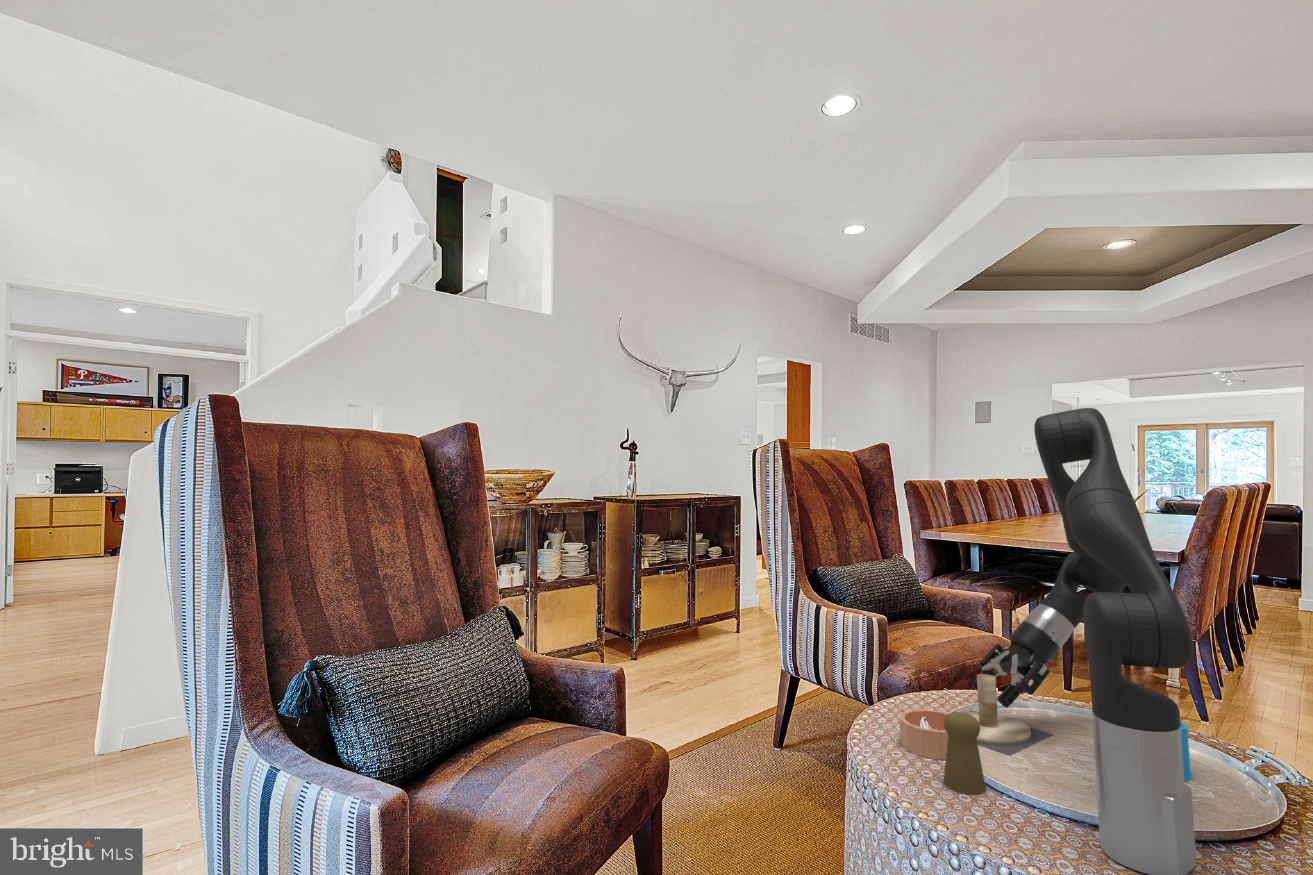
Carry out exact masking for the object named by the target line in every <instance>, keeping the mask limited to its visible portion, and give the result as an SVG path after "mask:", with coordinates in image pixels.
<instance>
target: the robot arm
mask: <svg viewBox="0 0 1313 875" xmlns="http://www.w3.org/2000/svg"><path fill="white" fill-rule="evenodd" d="M1033 426H1034V430H1033V431H1034V438H1035V444H1036V447H1037V450H1038V454H1039V458H1040V460H1041V462H1042V466H1043V468H1044V471H1045V474H1046V477H1047V480H1048V483H1049V485H1050V488H1051V491H1052V494H1053V495H1054V498H1055V500H1056V503H1057V505H1058V508H1059V512H1060V517H1061V519H1062V524H1063V529H1064V533H1065V538H1066V542H1067V544H1068V547H1069V548H1070V549H1071V550H1072V552H1071V553H1069V554H1068V555H1066V557H1065V559H1064V561H1063V563H1062V565H1061V567H1060V570H1059V572H1058V573H1059V574H1058V575H1057V578H1056V580H1055V583H1054V585H1053V586H1052V588H1051V591H1049V593H1048V594H1047V595H1045V597H1044V598H1043V600H1042V601H1041V602H1040V603H1038V605H1037V606H1036V607H1035V608H1034V609H1032V611H1030V612H1029V613H1028V614H1027V616H1026V617H1025V618H1024V619H1023V620H1022V622H1020V624H1019V625H1018V626H1017V627H1016V629H1015V630H1013V632H1012V633H1011V634H1010V636H1009V641H1010V645H1009V646H1008V647H1007V648H1004V646H1002V645H1001V644H1000V643H996V644H995V645H994V646H993V647H992V648H991V649H990V650H989V651H988V652H987V653H986V655H984V657H982V659H981V660H980V661H979V663H978V666H980V667H981V672H980V673H979V674H989V675H993V676H995V677H996V678H997V677H999V676H1003V677H1005V676H1007V675H1009V676H1011V681H1010V684H1008V685H1007V686H1006V687H1005V688H1004V690H1003V691H1002V692H1001V693H1000V694H999V696H997V703H999V704H1001V705H1002V707H1004V708H1006V709H1007V708H1009V707H1010V706H1011V705H1012V704H1014V702H1015V700H1017V698H1019V696H1020V695H1024V694H1028V695H1030V696H1032V695H1034V693H1035V692H1036V691H1037V690H1038V688H1039V687H1040V686H1041V685H1042V683H1043V682H1044V680H1045V679H1046V678H1047V677H1048V675H1049V674H1050V673H1051V670H1050V669H1049V668H1048V667H1047V665H1048V664H1049V662H1050V661H1051V660H1052V659H1053V658H1054V656H1055V655H1057V653H1058V652H1059V650H1060V649H1061V648H1062V647H1063V645H1065V643H1066V642H1067V641H1068V639H1069V638H1070V637H1071V635H1072V633H1073V632H1074V631H1075V629H1076V628H1077V626H1079V624H1080V623H1081V622H1082V621H1083V626H1084V635H1085V642H1086V649H1087V650H1086V651H1087V657H1088V665H1089V667H1088V669H1089V670H1088V671H1089V681H1090V682H1089V683H1090V693H1091V709H1092V725H1093V726H1092V727H1093V744H1094V758H1095V759H1094V762H1095V778H1096V779H1095V780H1096V797H1097V814H1098V832H1099V844H1100V848H1101V850H1102V851H1103V852H1104V854H1106V856H1108V857H1109V858H1110V859H1112V860H1113V861H1115V863H1118V864H1120V865H1122V866H1124V867H1126V868H1129V869H1131V870H1134V871H1137V872H1140V873H1142V874H1147V875H1188V874H1189V873H1190V872H1191V871H1192V870H1193V869H1195V867H1196V866H1197V865H1198V864H1197V853H1196V852H1197V851H1196V838H1195V837H1196V836H1195V822H1194V819H1195V818H1194V809H1193V808H1194V806H1193V793H1192V787H1191V786H1190V785H1188V784H1185V782H1184V769H1183V754H1182V739H1181V724H1180V721H1181V714H1180V713H1181V712H1180V709H1179V706H1178V704H1177V703H1176V702H1175V701H1174V700H1173V699H1172V698H1170V697H1169V696H1167V695H1165V694H1163V693H1160V692H1157V691H1156V690H1152V689H1151V688H1148V687H1145V686H1142V685H1140V684H1138V683H1135V682H1134V681H1132V680H1130V679H1129V678H1127V677H1126V676H1125V675H1123V673H1122V670H1121V668H1122V666H1131V667H1142V668H1154V669H1181V668H1184V667H1185V666H1187V665H1189V663H1190V662H1191V660H1192V657H1193V655H1194V654H1193V653H1194V643H1193V637H1192V636H1193V635H1192V632H1191V628H1190V626H1189V622H1188V619H1187V616H1186V614H1185V612H1184V609H1183V607H1182V606H1181V603H1180V602H1179V599H1178V598H1177V595H1176V594H1175V591H1174V590H1173V588H1172V586H1171V584H1170V582H1169V580H1168V578H1167V577H1166V575H1165V573H1164V571H1163V570H1162V568H1161V565H1160V563H1159V561H1158V559H1157V558H1156V557H1157V556H1156V555H1155V553H1154V550H1153V547H1152V545H1151V542H1150V539H1149V536H1148V533H1147V531H1146V528H1145V525H1144V522H1143V519H1142V518H1143V517H1142V516H1141V514H1140V510H1139V508H1138V506H1137V504H1136V501H1135V498H1134V497H1133V495H1132V492H1131V490H1130V488H1129V485H1128V484H1127V482H1126V478H1125V477H1124V475H1123V472H1122V470H1121V467H1120V464H1119V460H1118V457H1117V454H1116V449H1115V447H1114V443H1113V439H1112V437H1111V433H1110V430H1109V429H1110V428H1109V426H1108V423H1107V420H1106V419H1105V418H1104V416H1103V414H1102V413H1101V412H1100V411H1099V410H1098V409H1096V408H1094V407H1082V408H1076V409H1070V410H1065V411H1059V412H1055V413H1050V414H1045V415H1042V416H1039V417H1037V418H1036V420H1035V421H1034V425H1033ZM1087 460H1088V461H1089V462H1088V464H1087V466H1086V468H1085V469H1084V470H1083V471H1082V473H1081V474H1080V475H1079V477H1078V478H1077V479H1076V480H1074V479H1073V478H1072V477H1071V475H1069V474H1068V472H1067V471H1066V469H1065V466H1064V465H1065V464H1068V463H1069V464H1070V463H1074V462H1081V461H1087ZM1080 586H1082V587H1083V588H1086V589H1088V590H1091V591H1092V592H1091V593H1090V594H1088V596H1087V597H1086V598H1085V597H1084V595H1082V594H1081V593H1079V592H1078V589H1079V587H1080ZM1126 587H1128V589H1129V590H1130V592H1131V593H1130V592H1123V591H1124V589H1125V588H1126ZM989 661H990V662H989ZM1030 681H1032V683H1031V685H1030ZM971 687H972V688H973V689H974V690H976V691H977V692H978V686H977V677H976V678H975V679H974V680H973V682H971Z"/></svg>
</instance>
